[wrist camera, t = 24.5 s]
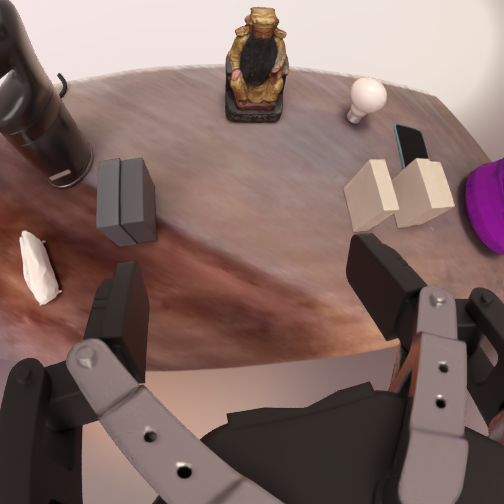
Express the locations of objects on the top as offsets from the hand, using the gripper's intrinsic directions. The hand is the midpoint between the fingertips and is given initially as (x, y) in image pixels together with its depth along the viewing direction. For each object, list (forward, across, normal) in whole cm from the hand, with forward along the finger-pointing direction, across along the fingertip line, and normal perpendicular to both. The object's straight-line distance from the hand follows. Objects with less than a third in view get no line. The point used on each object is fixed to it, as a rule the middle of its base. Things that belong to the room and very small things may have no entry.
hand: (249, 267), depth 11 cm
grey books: (+33, +11, +12) cm, 37 cm away
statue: (+46, -10, 0) cm, 47 cm away
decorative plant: (+29, -55, +16) cm, 64 cm away
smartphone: (+38, -39, +8) cm, 55 cm away
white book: (+31, -22, +14) cm, 41 cm away
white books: (+31, -33, +14) cm, 47 cm away
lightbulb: (+44, -27, +2) cm, 52 cm away
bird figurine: (+28, +27, +17) cm, 43 cm away
